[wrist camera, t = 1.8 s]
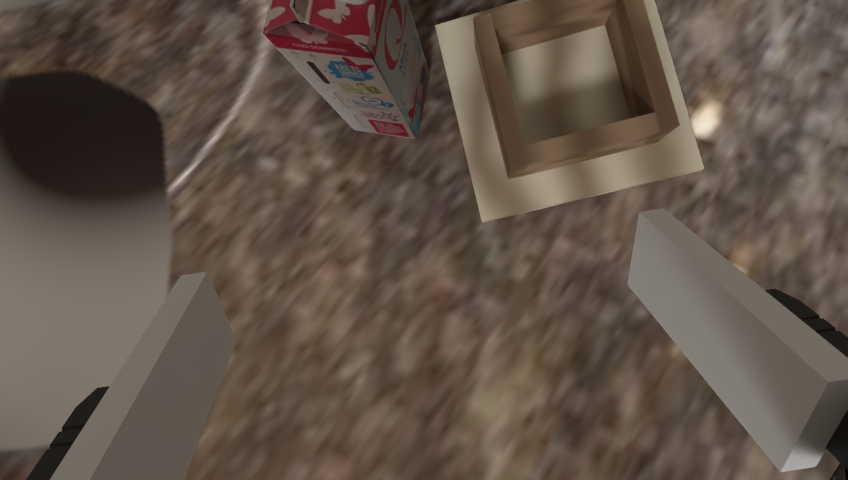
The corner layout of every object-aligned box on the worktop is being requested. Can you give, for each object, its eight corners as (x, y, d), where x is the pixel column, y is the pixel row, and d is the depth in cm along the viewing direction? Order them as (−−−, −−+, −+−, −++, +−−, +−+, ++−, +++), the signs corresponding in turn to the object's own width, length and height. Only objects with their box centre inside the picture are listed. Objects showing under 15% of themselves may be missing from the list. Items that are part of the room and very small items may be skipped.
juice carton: (429, 74, 45) (374, -112, 23) (417, 139, 44) (348, 12, 23) (366, 66, 46) (257, -120, 24) (354, 130, 46) (231, -1, 24)
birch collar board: (640, -30, 43) (664, -79, 37) (698, 171, 40) (735, 153, 35) (436, 30, 45) (428, -7, 39) (482, 222, 43) (480, 214, 37)
